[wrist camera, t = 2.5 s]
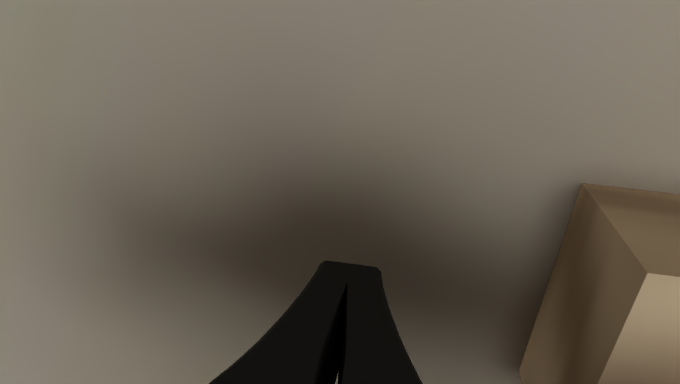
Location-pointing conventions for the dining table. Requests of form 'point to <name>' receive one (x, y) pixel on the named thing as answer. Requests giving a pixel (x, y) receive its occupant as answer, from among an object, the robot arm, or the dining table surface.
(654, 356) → the oak plank
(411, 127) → the dining table surface
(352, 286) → the robot arm
